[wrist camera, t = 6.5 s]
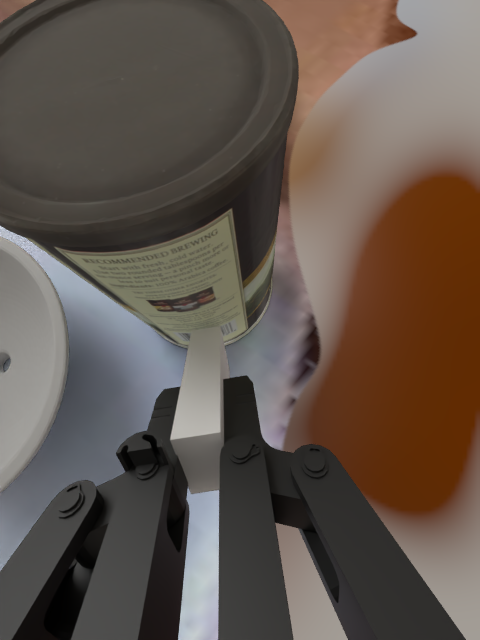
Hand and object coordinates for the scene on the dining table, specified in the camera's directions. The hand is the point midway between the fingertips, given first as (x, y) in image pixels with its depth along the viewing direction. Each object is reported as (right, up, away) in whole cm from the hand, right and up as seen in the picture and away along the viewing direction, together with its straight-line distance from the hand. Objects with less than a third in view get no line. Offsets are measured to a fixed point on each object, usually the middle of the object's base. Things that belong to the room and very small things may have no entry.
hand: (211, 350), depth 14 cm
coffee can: (-1, +4, +7) cm, 8 cm away
